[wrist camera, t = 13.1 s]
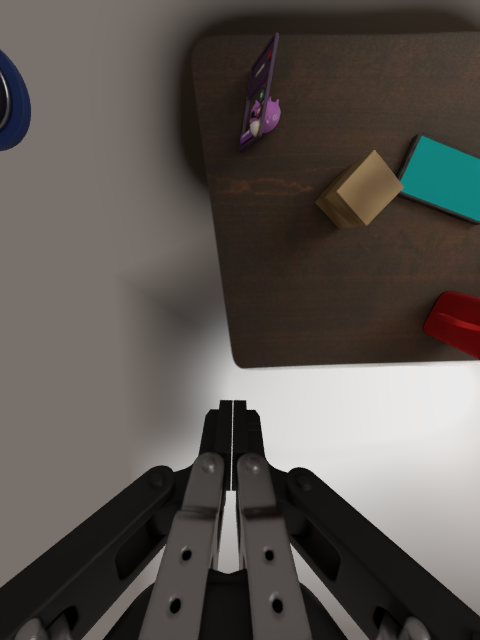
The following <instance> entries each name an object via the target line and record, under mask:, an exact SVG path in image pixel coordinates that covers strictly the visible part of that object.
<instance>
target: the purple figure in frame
mask: <svg viewBox="0 0 480 640" xmlns="http://www.w3.org/2000/svg"><path fill="white" fill-rule="evenodd" d="M278 39H279V33H278V32H275V33H274V35H273V36H272V38H271V39H270V41H269V42H268V44H267V45H266V47H265V48H264V50H263V51H262V53H261V54H260V56H259V57H258V59H257V60H256V61H255V63H254V64H253V66H252V68H251V71H250V78H249V85H248V91H247V98H246V104H245V111H244V118H243V124H242V131H241V138H240V144H239V151H240V152H242V151H243V150H245V149H246V148H247V147H249V146H250V145H251V144H253V143H254V142H255V141H257V140H258V139H259V138H261V136H262V133H268V132H270V131H271V130H273V129H274V128H275V126H276V125H277V123H278V121H279V118H280V114H281V110H280V108H279V106H278V102H279V99H277V101H276V102H272V101H271V97H270V98H269V99H268V97H269V91H270V85H271V79H272V74H273V68H274V62H275V56H276V51H277V45H278ZM266 81H267V84H266V88H265V87H263V89H262V91H261V93H260V98H259V102H257V100H256V103H255V105H254V106H253V108H252V110H251V115H250V118H251V119H250V122H251V124H250V125H249V126H251V127H250V130H248V131H247V132H246V133H245V128H246V122H247V115H248V109H249V102H250V100H251V98H252V97H253V96H254V95H255V94H256V92H257V91H258V90H259V89H260V88H261V86H262V85H263V84H264V83H265V82H266ZM252 136H254V137H253V138H251V139H250V140H249V141H248V142H247V143H245V144H244V145H243V142H244V141H246V140H247V139H249V138H250V137H252Z"/></svg>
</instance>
